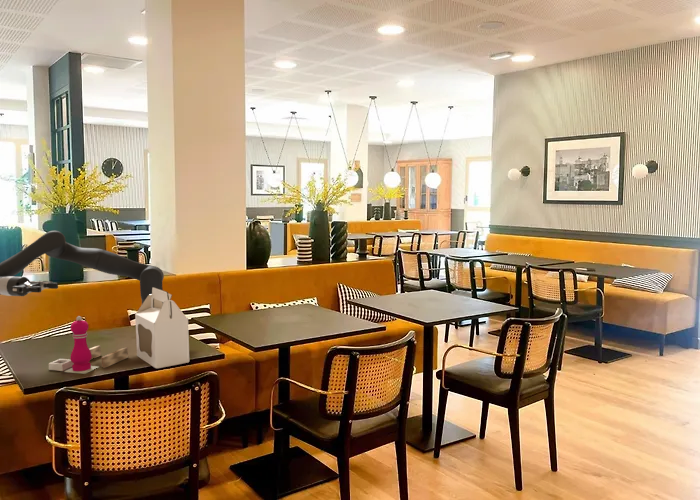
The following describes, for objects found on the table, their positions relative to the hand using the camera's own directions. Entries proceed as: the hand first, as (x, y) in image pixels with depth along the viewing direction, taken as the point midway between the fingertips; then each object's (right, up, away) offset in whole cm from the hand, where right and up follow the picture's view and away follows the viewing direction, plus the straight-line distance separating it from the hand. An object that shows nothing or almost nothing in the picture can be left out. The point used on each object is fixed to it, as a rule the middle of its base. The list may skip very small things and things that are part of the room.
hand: (49, 287), depth 219 cm
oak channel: (+17, -29, +7) cm, 35 cm away
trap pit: (+5, -30, -1) cm, 31 cm away
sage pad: (+14, -30, -3) cm, 34 cm away
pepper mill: (+14, -30, -3) cm, 34 cm away
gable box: (+40, -29, +10) cm, 51 cm away
